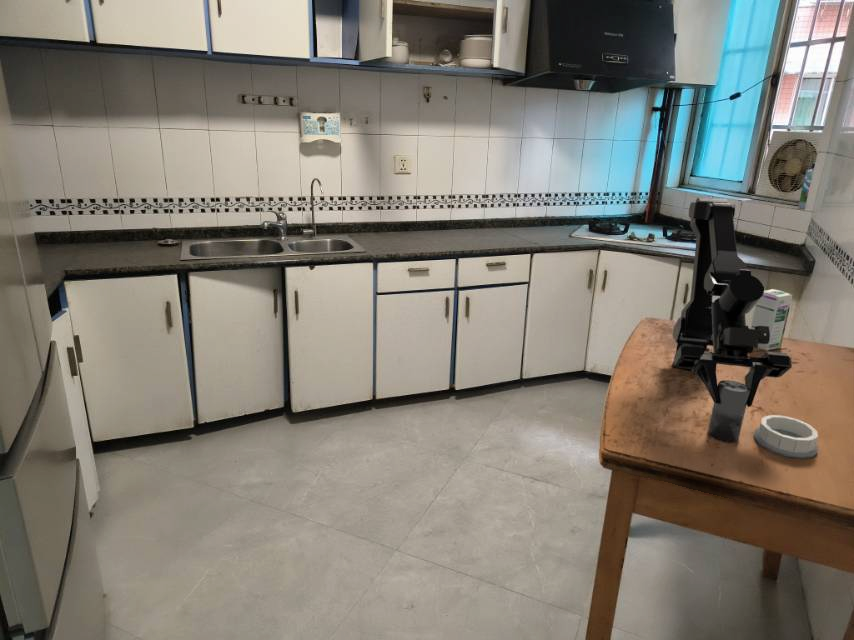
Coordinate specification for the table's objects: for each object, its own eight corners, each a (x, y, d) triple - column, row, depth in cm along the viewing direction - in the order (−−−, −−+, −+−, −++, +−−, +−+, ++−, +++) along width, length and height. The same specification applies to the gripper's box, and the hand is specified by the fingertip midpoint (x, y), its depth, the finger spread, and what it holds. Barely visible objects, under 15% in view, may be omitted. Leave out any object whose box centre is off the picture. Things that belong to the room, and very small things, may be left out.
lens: (706, 437, 109) (717, 387, 105) (709, 425, 113) (719, 377, 110) (737, 445, 106) (749, 394, 103) (739, 432, 111) (751, 383, 107)
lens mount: (752, 447, 106) (756, 431, 105) (755, 424, 114) (758, 408, 113) (818, 464, 101) (822, 448, 100) (815, 438, 109) (820, 423, 108)
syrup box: (767, 351, 150) (780, 296, 145) (745, 343, 155) (757, 290, 150) (781, 347, 152) (794, 294, 147) (759, 340, 157) (772, 287, 152)
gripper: (688, 302, 107) (689, 383, 101) (801, 312, 104) (810, 396, 97) (673, 328, 117) (673, 403, 111) (775, 337, 114) (782, 415, 107)
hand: (732, 404), depth 106 cm, fingers closed on lens, 5 cm apart
